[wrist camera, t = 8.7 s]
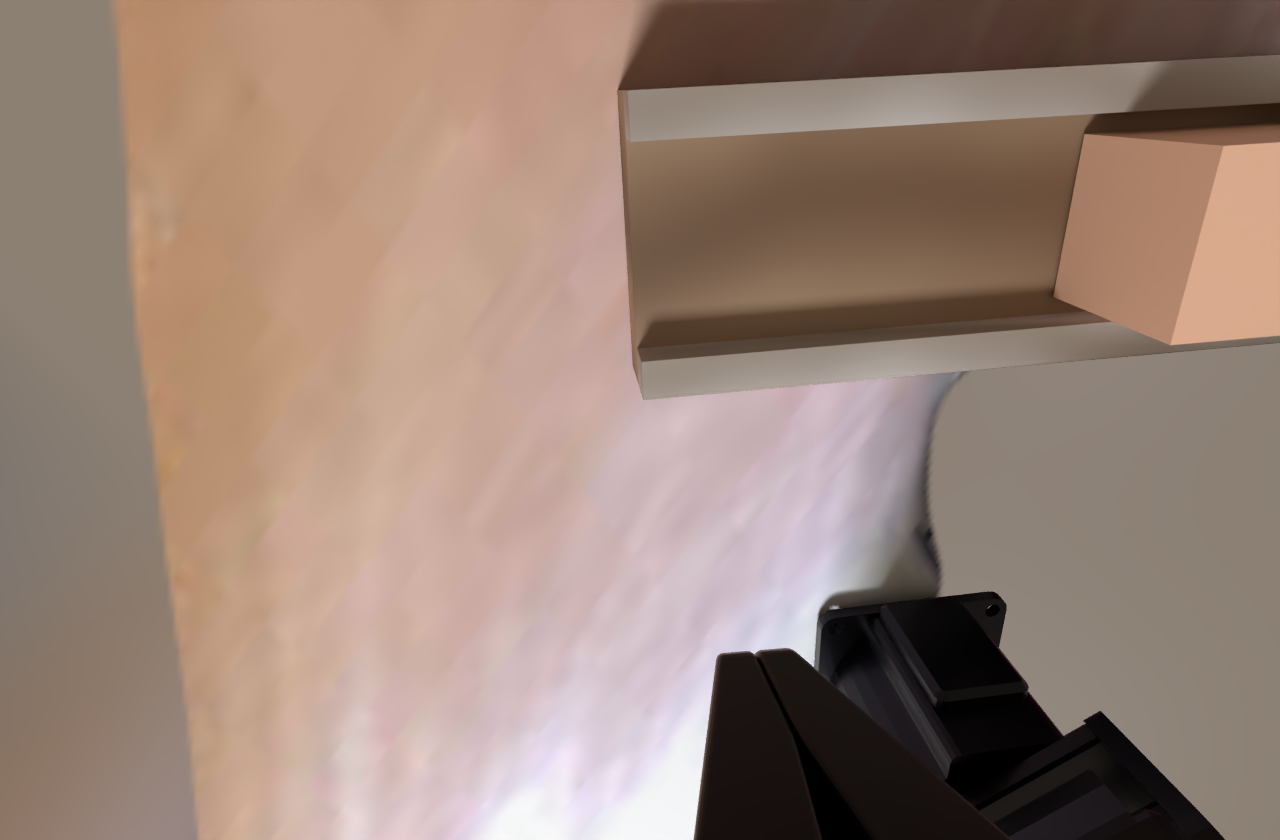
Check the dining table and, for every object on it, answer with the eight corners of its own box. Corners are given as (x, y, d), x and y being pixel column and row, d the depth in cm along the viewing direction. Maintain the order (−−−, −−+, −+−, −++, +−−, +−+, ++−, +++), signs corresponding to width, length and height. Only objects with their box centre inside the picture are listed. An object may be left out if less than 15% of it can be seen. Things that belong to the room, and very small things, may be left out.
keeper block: (1229, 282, 20) (1383, 326, 16) (1053, 296, 19) (1170, 345, 16) (1275, 122, 18) (1459, 130, 14) (1084, 133, 18) (1223, 145, 14)
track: (1208, 315, 22) (1339, 360, 18) (632, 365, 20) (650, 425, 17) (1283, 54, 19) (1458, 45, 15) (617, 90, 17) (635, 91, 14)
